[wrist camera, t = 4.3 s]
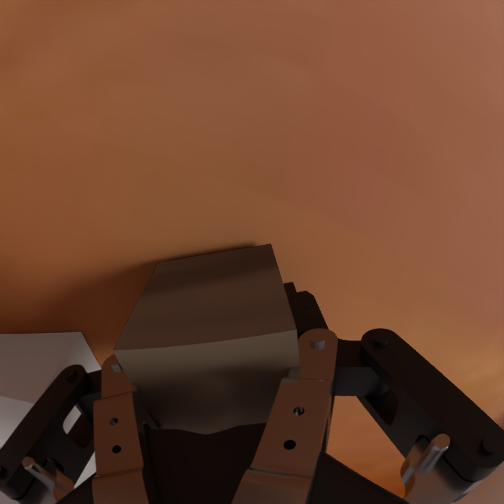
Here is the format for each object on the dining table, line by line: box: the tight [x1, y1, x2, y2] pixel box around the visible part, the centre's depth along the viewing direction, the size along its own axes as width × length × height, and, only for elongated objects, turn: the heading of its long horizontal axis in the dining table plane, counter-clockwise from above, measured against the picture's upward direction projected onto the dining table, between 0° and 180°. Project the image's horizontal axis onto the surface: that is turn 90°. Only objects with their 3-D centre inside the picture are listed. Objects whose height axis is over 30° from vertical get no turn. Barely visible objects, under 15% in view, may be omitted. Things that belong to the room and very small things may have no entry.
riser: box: [0, 332, 101, 489], centre depth 15 cm, size 14×12×6 cm
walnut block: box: [113, 244, 300, 434], centre depth 11 cm, size 5×5×6 cm
